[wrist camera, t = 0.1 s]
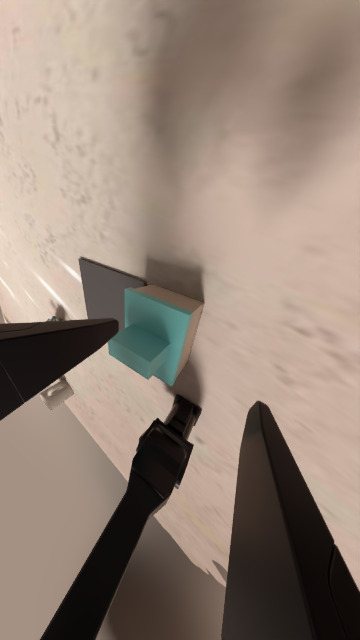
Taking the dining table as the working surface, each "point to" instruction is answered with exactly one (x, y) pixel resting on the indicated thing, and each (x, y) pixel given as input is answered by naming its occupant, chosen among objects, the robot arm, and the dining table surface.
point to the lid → (151, 336)
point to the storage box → (184, 303)
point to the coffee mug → (56, 394)
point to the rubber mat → (106, 291)
